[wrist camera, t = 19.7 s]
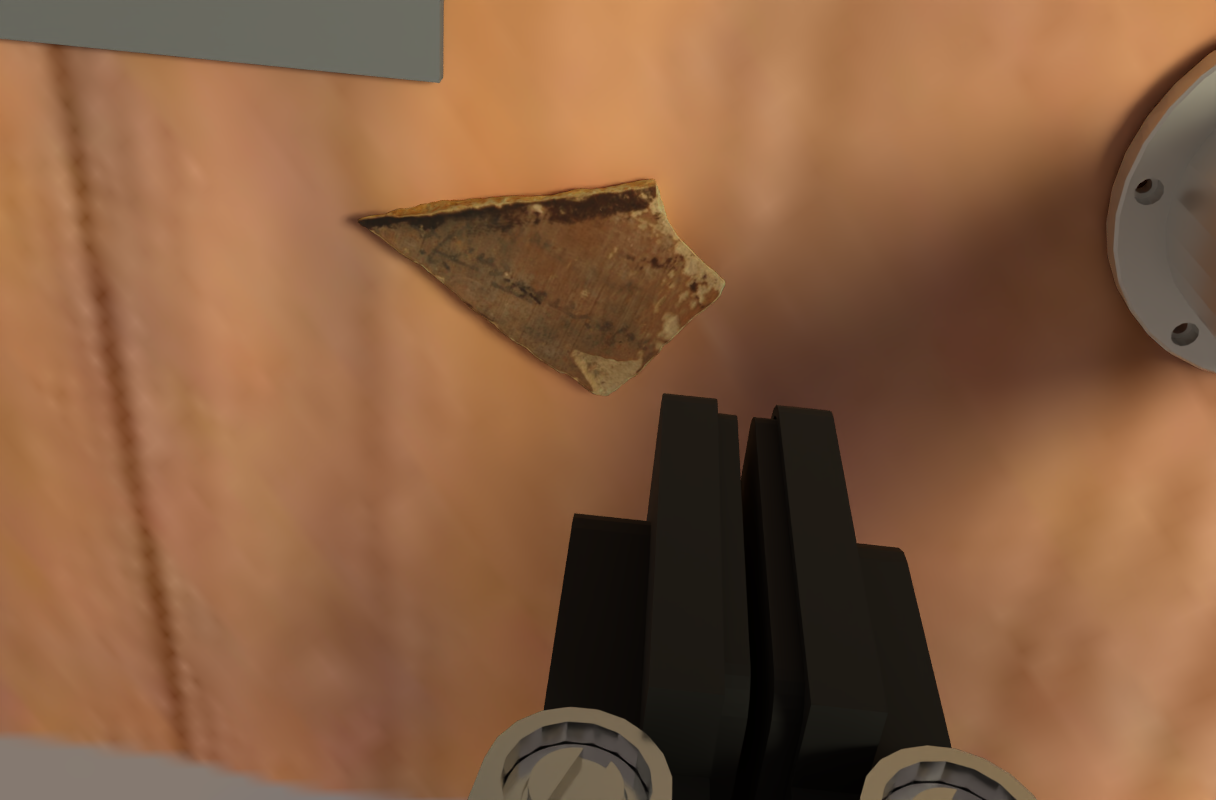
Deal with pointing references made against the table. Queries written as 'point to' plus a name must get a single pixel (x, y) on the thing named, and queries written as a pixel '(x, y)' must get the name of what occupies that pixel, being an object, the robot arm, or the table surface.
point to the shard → (564, 273)
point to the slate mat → (248, 31)
